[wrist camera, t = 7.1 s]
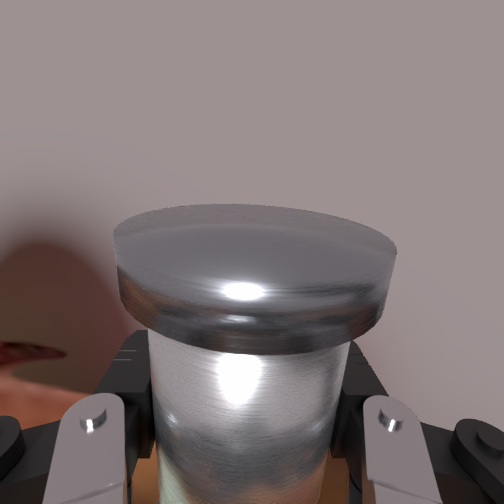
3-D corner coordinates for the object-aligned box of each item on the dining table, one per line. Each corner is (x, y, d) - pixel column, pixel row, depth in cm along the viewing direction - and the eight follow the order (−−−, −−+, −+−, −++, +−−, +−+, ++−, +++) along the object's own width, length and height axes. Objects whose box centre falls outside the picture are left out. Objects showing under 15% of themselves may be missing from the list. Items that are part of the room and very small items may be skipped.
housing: (300, 461, 14) (340, 209, 10) (342, 683, 8) (479, 289, 4) (171, 461, 13) (158, 199, 9) (120, 691, 8) (35, 272, 4)
